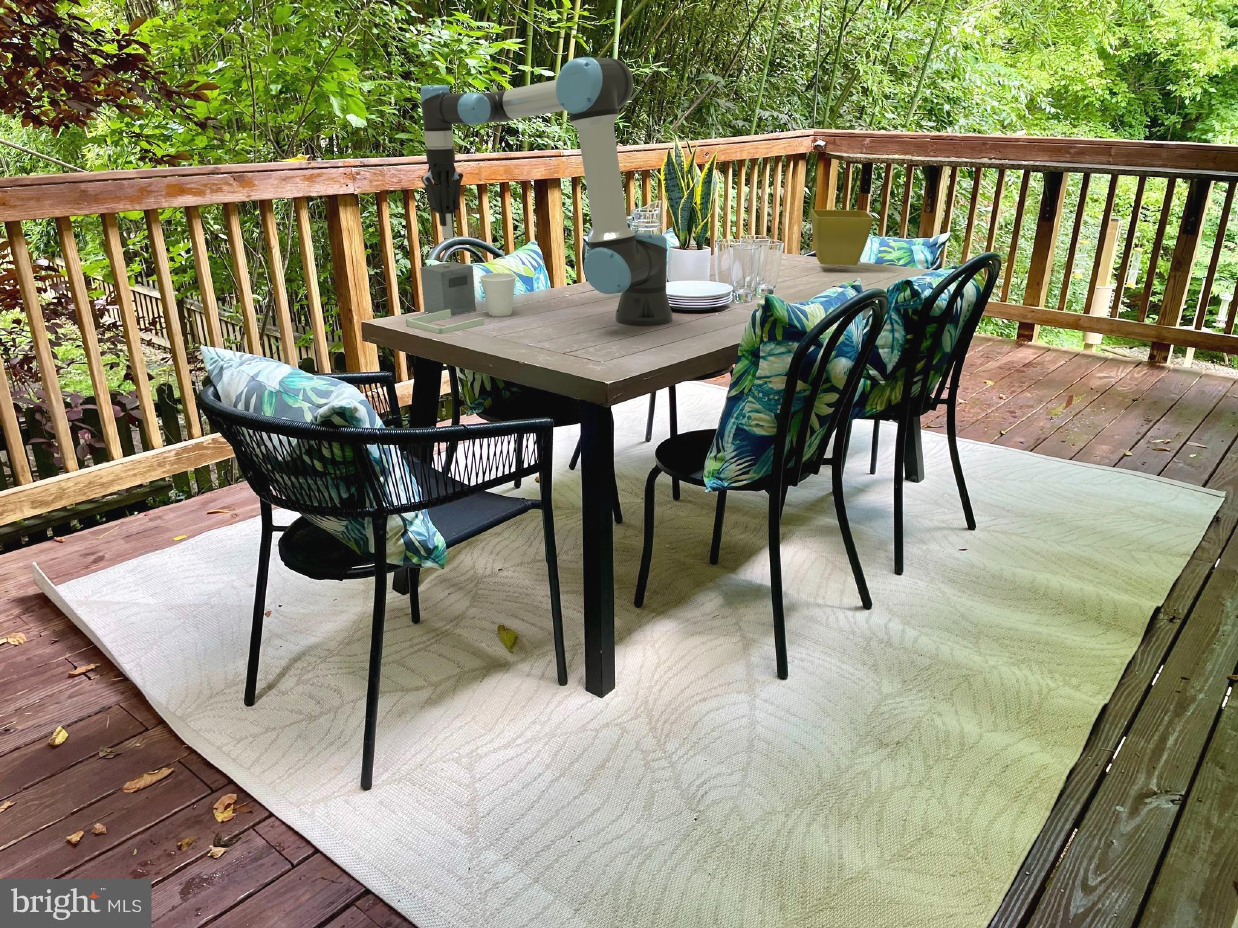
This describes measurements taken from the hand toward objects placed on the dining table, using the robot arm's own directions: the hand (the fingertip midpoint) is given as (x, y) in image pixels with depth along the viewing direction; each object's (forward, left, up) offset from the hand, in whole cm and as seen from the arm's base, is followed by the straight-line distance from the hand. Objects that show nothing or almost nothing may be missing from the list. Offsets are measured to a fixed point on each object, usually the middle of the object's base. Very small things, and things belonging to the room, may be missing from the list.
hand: (447, 237), depth 248 cm
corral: (-18, +17, -20) cm, 31 cm away
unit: (-5, +5, -20) cm, 21 cm away
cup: (-18, -2, -20) cm, 27 cm away
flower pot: (-51, -131, -20) cm, 142 cm away
